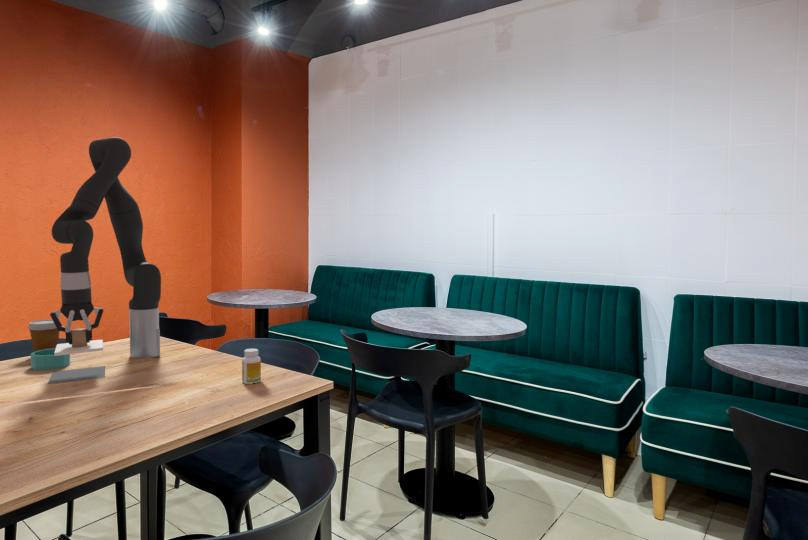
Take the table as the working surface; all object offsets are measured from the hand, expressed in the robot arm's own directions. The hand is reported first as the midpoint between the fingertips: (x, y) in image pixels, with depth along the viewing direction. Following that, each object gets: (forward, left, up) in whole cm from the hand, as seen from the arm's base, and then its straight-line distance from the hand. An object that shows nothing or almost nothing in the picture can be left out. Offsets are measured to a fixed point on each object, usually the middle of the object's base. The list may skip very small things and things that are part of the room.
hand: (79, 342), depth 150 cm
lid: (0, 0, -2) cm, 2 cm away
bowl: (+9, -15, -10) cm, 20 cm away
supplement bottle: (-44, +29, -11) cm, 54 cm away
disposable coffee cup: (+12, -33, -11) cm, 37 cm away
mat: (+1, 0, -10) cm, 10 cm away
